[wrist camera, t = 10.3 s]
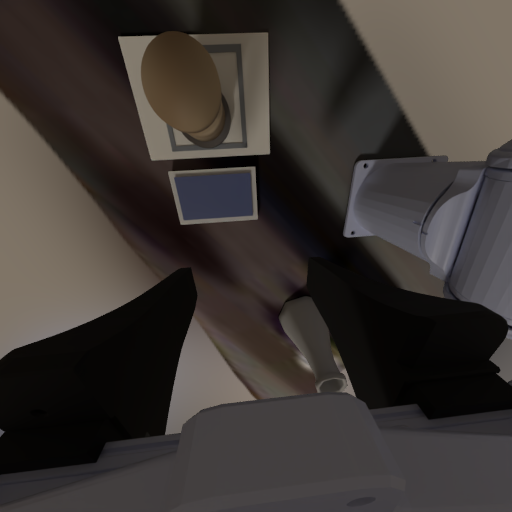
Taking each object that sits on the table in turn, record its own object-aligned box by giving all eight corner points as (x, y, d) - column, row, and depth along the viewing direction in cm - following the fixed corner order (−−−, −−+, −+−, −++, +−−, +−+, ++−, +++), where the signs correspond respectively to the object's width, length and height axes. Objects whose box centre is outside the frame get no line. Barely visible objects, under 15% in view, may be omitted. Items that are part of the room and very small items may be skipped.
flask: (278, 296, 25) (299, 367, 16) (329, 292, 26) (376, 360, 17) (277, 333, 29) (293, 409, 20) (322, 329, 29) (359, 403, 20)
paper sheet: (267, 34, 14) (268, 31, 14) (269, 154, 18) (270, 153, 17) (120, 39, 14) (117, 35, 13) (152, 160, 17) (150, 160, 17)
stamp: (227, 84, 15) (216, 22, 9) (233, 146, 17) (229, 132, 11) (172, 87, 15) (123, 27, 9) (185, 150, 17) (151, 137, 10)
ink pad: (254, 166, 18) (255, 166, 17) (257, 216, 20) (258, 220, 19) (171, 171, 18) (166, 171, 17) (183, 222, 20) (179, 225, 19)
